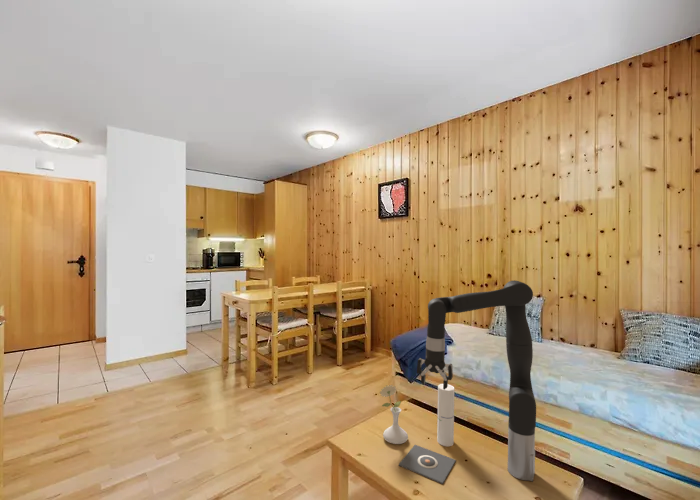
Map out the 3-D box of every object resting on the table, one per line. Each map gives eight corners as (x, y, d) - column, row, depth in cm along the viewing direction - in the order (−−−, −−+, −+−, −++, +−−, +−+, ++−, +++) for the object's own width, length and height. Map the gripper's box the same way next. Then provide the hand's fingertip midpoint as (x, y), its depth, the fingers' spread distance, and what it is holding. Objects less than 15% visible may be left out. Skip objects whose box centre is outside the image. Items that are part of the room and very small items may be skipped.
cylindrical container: (450, 448, 146) (451, 391, 145) (434, 442, 150) (435, 387, 150) (455, 440, 151) (456, 386, 151) (440, 435, 156) (441, 382, 155)
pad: (455, 461, 137) (455, 458, 137) (442, 484, 124) (442, 481, 124) (414, 445, 147) (414, 443, 147) (398, 465, 134) (398, 463, 134)
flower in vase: (407, 433, 157) (407, 380, 157) (409, 447, 146) (409, 391, 145) (379, 431, 159) (380, 379, 158) (379, 445, 147) (379, 389, 147)
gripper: (454, 348, 137) (453, 386, 138) (420, 342, 144) (419, 379, 144) (451, 353, 130) (449, 394, 131) (415, 347, 137) (414, 386, 137)
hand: (434, 386), depth 137 cm, fingers open, 8 cm apart
